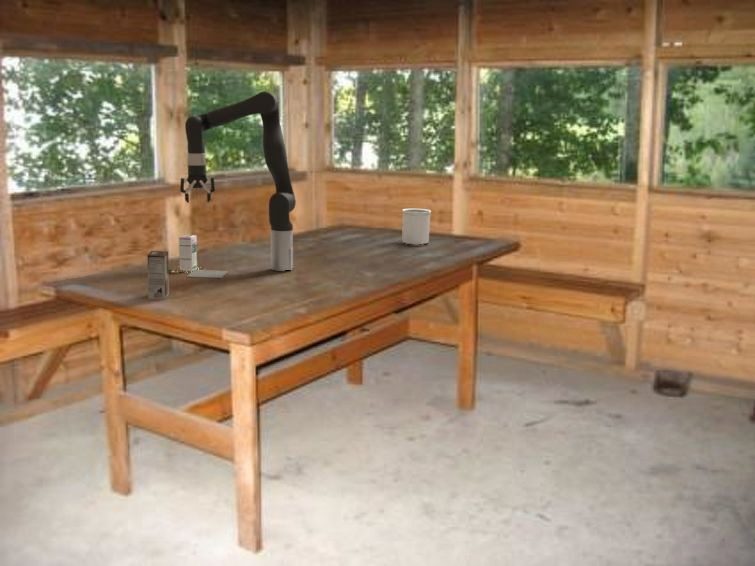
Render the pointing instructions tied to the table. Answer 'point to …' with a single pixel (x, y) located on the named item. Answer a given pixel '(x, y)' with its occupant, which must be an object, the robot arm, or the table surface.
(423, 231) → the utensil holder
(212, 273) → the mat
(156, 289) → the coffee box
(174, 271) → the tile
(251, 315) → the table surface
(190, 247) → the syrup box
